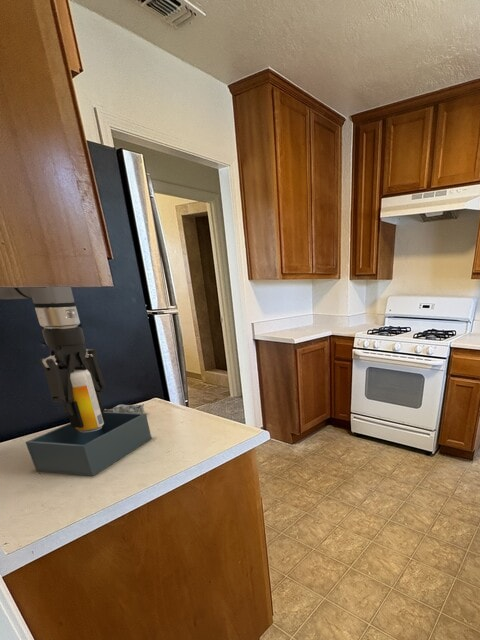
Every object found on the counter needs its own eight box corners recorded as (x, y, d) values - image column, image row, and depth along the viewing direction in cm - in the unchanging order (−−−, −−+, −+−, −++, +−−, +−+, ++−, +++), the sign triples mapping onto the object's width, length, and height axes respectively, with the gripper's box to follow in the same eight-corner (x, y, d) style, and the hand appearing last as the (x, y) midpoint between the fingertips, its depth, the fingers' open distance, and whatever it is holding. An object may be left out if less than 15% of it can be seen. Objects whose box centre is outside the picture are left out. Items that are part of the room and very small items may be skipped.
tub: (36, 471, 84) (25, 442, 81) (104, 435, 103) (97, 411, 100) (93, 476, 81) (83, 446, 78) (151, 438, 101) (146, 413, 98)
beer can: (83, 425, 92) (66, 368, 86) (108, 423, 93) (93, 367, 87) (72, 434, 86) (53, 374, 81) (99, 432, 87) (82, 372, 82)
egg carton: (104, 421, 115) (101, 409, 113) (118, 413, 122) (115, 402, 120) (136, 421, 114) (133, 409, 112) (148, 413, 121) (145, 401, 119)
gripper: (36, 332, 71) (70, 437, 80) (107, 322, 88) (128, 410, 97) (5, 331, 72) (41, 435, 81) (81, 322, 89) (104, 408, 98)
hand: (88, 421), depth 89 cm, fingers closed on beer can, 6 cm apart
